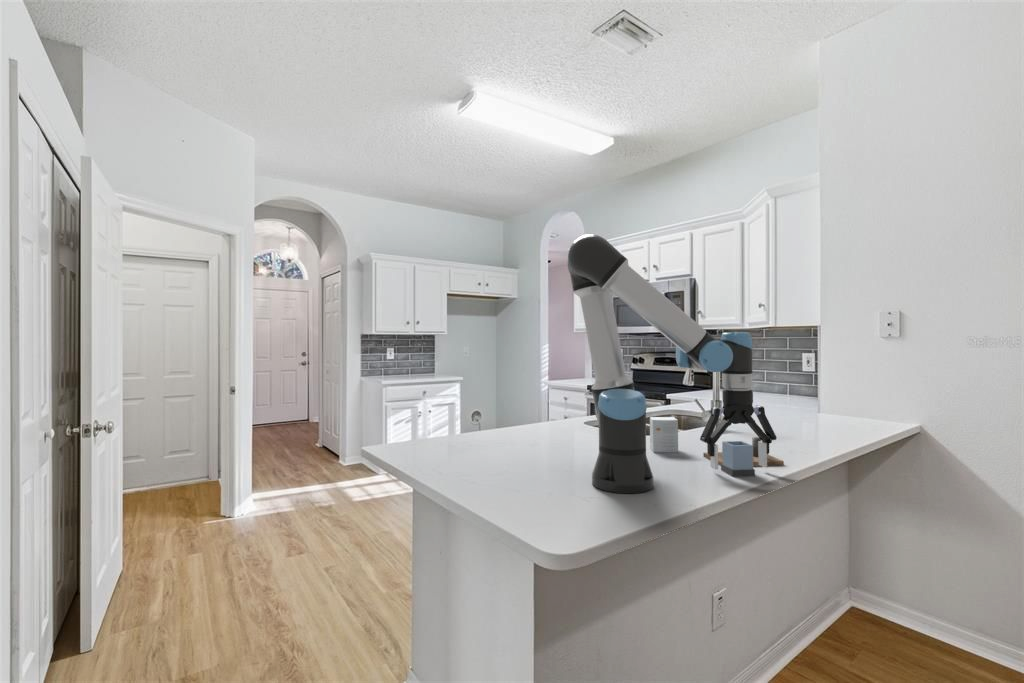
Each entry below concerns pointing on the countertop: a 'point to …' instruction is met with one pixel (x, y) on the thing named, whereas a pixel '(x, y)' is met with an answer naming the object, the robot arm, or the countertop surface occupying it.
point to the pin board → (755, 460)
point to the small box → (663, 434)
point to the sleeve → (737, 458)
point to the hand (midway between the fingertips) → (738, 467)
